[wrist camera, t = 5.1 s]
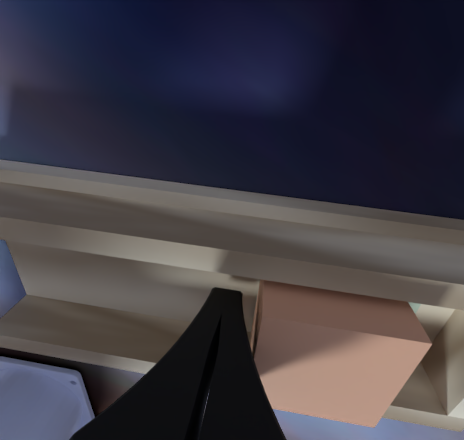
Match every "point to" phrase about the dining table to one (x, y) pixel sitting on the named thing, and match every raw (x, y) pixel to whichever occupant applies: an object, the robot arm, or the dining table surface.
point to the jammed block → (333, 351)
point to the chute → (216, 269)
